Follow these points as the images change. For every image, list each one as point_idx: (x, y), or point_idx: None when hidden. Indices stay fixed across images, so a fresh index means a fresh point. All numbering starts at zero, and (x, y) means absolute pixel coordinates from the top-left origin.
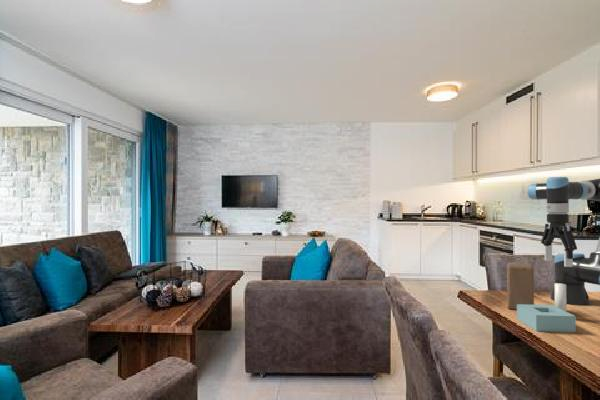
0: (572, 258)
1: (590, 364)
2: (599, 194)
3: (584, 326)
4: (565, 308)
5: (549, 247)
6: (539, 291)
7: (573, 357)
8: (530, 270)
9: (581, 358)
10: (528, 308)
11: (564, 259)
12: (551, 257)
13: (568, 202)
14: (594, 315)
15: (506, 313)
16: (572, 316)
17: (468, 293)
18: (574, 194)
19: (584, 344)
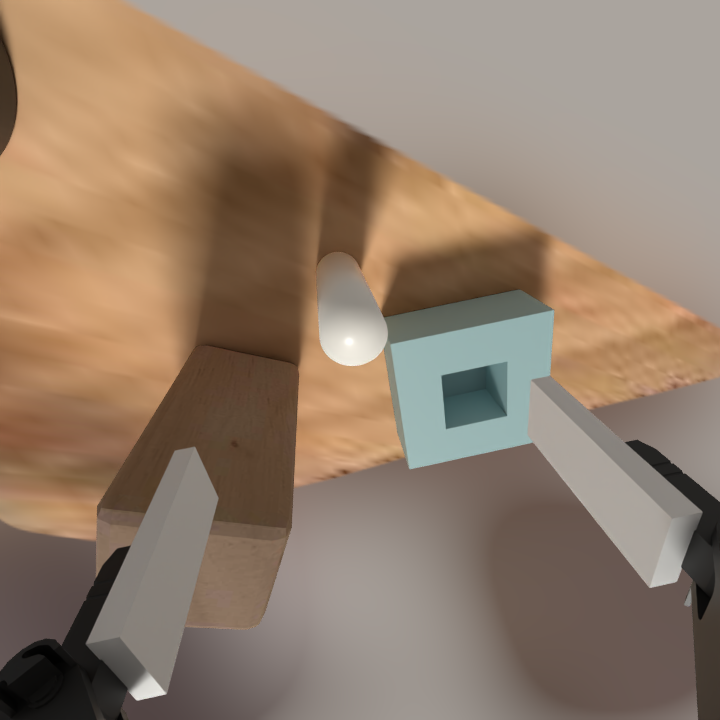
0: (643, 443)
1: None
2: None
3: (449, 222)
4: (361, 272)
5: (149, 634)
6: None
7: (702, 374)
8: (291, 523)
9: (711, 358)
10: (463, 444)
11: (570, 483)
12: (187, 482)
13: None
14: (243, 66)
15: (341, 451)
16: (552, 321)
17: (73, 535)
18: None
19: (626, 309)
